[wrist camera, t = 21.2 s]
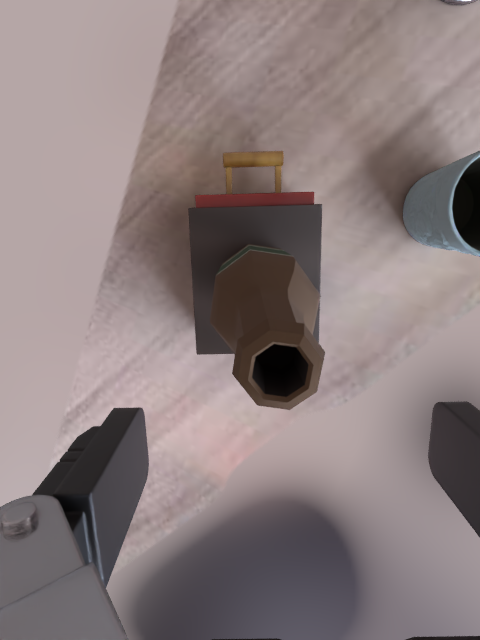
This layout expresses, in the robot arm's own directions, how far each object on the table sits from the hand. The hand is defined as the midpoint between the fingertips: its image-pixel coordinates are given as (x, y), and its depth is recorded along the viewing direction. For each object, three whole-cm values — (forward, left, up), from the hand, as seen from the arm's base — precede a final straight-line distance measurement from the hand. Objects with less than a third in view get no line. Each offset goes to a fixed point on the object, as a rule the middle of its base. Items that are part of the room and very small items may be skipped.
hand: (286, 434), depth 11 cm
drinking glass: (-7, +22, -38) cm, 44 cm away
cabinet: (0, 0, -38) cm, 38 cm away
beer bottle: (0, 0, -28) cm, 28 cm away
